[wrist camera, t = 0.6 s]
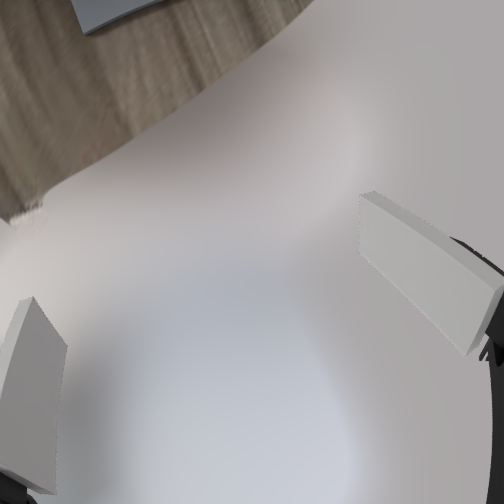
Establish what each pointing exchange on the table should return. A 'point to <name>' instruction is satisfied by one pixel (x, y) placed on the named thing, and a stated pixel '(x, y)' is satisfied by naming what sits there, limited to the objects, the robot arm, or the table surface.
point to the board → (105, 11)
